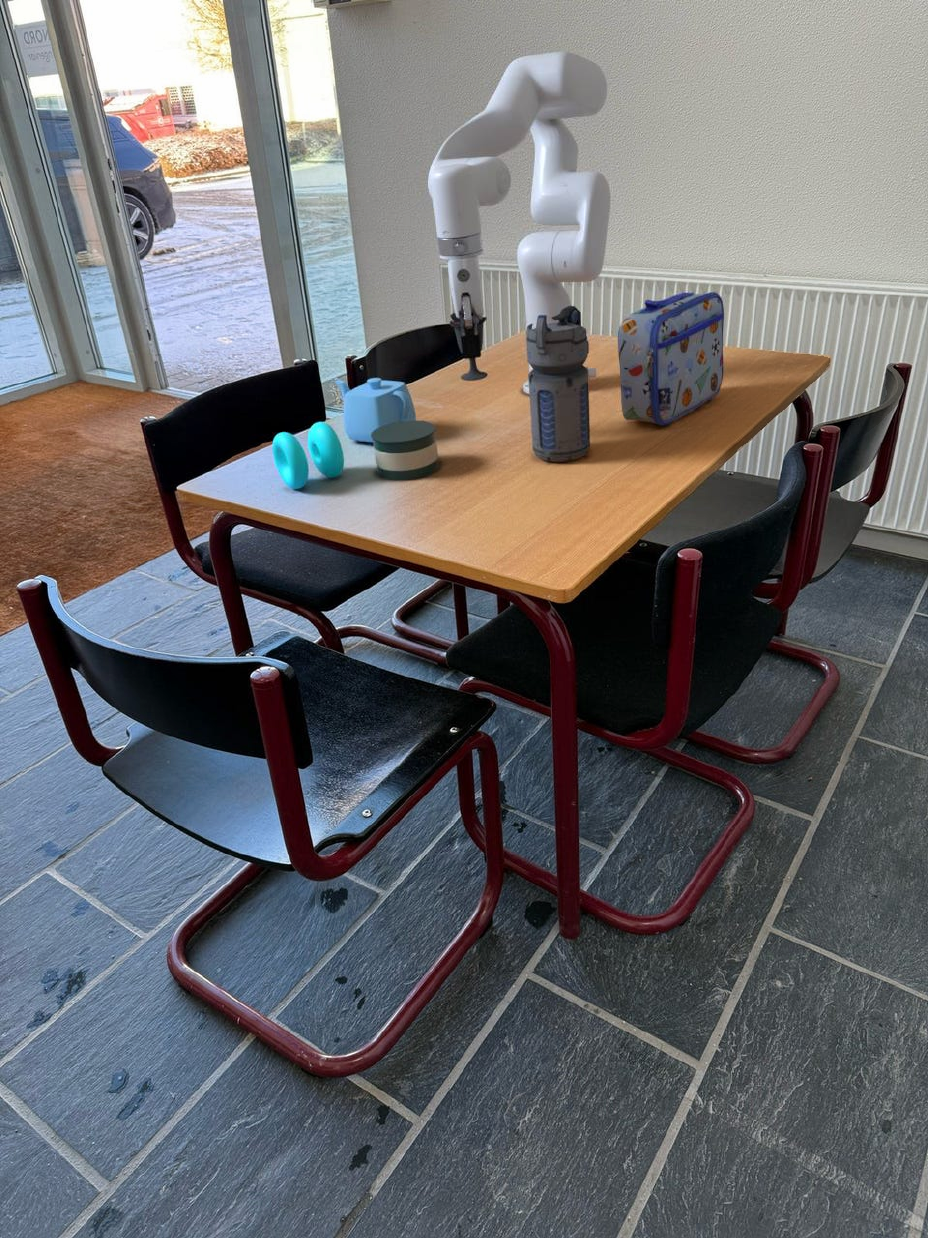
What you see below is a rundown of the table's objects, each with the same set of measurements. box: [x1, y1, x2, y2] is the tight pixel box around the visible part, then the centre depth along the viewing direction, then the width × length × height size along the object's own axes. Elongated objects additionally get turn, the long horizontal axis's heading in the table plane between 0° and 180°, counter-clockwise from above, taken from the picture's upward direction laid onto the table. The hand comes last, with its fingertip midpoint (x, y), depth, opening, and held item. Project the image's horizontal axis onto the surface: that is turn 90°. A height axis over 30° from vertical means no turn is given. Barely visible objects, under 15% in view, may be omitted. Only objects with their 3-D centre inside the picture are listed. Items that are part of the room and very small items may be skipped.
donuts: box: [272, 421, 345, 490], centre depth 159 cm, size 10×10×10 cm
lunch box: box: [617, 291, 725, 427], centre depth 170 cm, size 28×10×22 cm, turn 140°
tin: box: [371, 419, 440, 481], centre depth 161 cm, size 11×11×7 cm
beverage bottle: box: [525, 305, 591, 463], centre depth 156 cm, size 10×13×25 cm
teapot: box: [333, 377, 417, 443], centre depth 178 cm, size 12×18×12 cm
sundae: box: [449, 295, 489, 382], centre depth 161 cm, size 7×7×15 cm
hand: (471, 352), depth 163 cm, fingers closed on sundae, 5 cm apart
